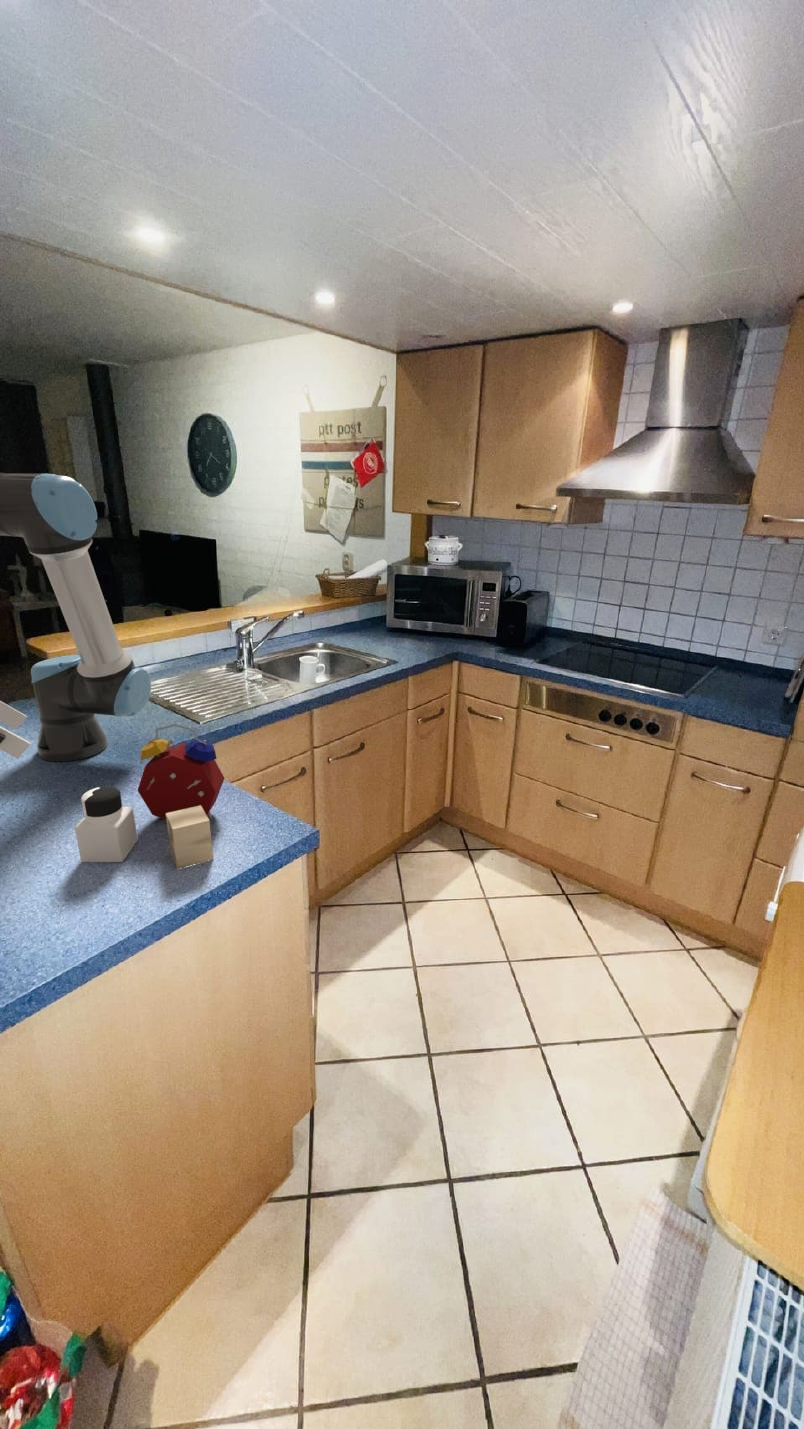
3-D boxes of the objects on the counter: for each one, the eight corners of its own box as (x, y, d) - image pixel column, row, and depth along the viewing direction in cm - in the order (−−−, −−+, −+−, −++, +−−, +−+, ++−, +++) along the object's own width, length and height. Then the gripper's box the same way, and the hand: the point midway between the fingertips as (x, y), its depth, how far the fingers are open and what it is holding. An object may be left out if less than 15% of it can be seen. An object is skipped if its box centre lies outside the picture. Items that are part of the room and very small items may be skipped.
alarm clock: (227, 810, 119) (219, 718, 112) (215, 833, 111) (205, 735, 104) (155, 808, 119) (142, 716, 112) (136, 831, 111) (122, 734, 104)
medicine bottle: (138, 840, 108) (129, 782, 104) (122, 863, 101) (112, 801, 97) (99, 840, 108) (88, 782, 104) (80, 862, 101) (68, 801, 97)
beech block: (170, 852, 105) (165, 813, 102) (204, 843, 108) (200, 805, 105) (177, 869, 100) (172, 829, 97) (213, 859, 103) (209, 820, 100)
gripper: (-134, 653, 88) (5, 729, 101) (-172, 698, 68) (7, 785, 81) (-98, 616, 89) (35, 696, 102) (-125, 650, 69) (44, 743, 82)
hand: (23, 736), depth 92 cm, fingers open, 13 cm apart
